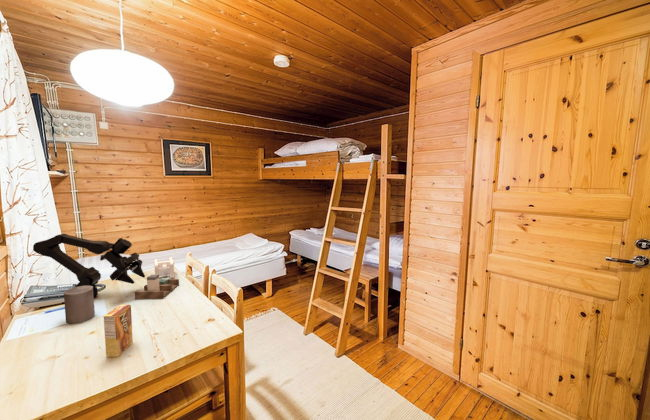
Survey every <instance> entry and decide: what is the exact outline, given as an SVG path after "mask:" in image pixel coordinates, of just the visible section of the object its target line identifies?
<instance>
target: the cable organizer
mask: <svg viewBox="0 0 650 420" xmlns="http://www.w3.org/2000/svg"><path fill="white" fill-rule="evenodd" d="M153 263H154V275H159V279H163V277H164V276H166V277H170V278H169V279H172V278H173V279H175V268H174V266H175V262H174V258H173V257H172V256H171V257H168V260H164V261H159V260H158V259H157V258H156V259H154V261H153Z"/></svg>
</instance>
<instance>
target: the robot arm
mask: <svg viewBox="0 0 650 420" xmlns="http://www.w3.org/2000/svg"><path fill="white" fill-rule="evenodd" d="M61 244H64V245H69V246H74V247H77V248H81V249H84V250H85V249H86V250H87V251H88V252H89V253H92V254H95V255H100V257H99V260H100V261H105V260H106V262H108V263H109V264H110V265H111V266H110V267H111V268H115V269H114V271H113V272H112V273H111V274H110V275H109V278H110V279H111V280H112V281H119V282H124V283H129V284H132V285H133V284H135V281H134V279H133V278H132V277H131V276H130V275H129V274H128V271H131V273H133V274H135V275H138V276H139V277H141V278H145V277H146V275H145V273H144V270H143V269H142V265H143V260H141V259H140V258H139V257H140V254H138V253H137V252H133V253H131V254H130V255H131V256H130V255H129V256H128V257H127V256H123V255H124V254H125V253H126V252H127V251H128V250H129V249H130V248H131V247H132V245H133V244H132V242H131V241H130V240H127V239H124V238H123V237H120V238H118V239H117V240H116V242H114V243H112V242H109V241H106V240H90V239H86V238H82V237H79V236H73V235H69V234H67V233H61V234H57V235H54V236H53V237H51V238H48V239H45V240H40V241H37V242H35V243H34V244H33V245H32V248H33V249H32V250H33V252H35V253H37V254H39V255H41V256H44V257H46V258H47V257H49V258H51V259H53V261H56V263H58V264H59V265H61V266H62V267H64V268H65V269H66V270H69V272H71V273H73V274H74V275H75V276H76V279H77V281H78V283H77V284H76V285H74V287H79V286H93V296H94V299H95V298H96V299H97V298H98V296H99V294H98V293H99V292H98V291H99V290H98V287H97V286H96V285H97V284H98V283H99V281H100V280H101V278H102V274H101V273H100V270H97V269H96V268H95V266H91V267H85V266H84V265H83V264H81V263H80V262H78V261H77V260H76V259H74V258H72V257H71V256H70V255H68V254H67V253H66V252H64V251H63V250H61V247H60V245H61Z"/></svg>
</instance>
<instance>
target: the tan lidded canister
mask: <svg viewBox="0 0 650 420" xmlns="http://www.w3.org/2000/svg"><path fill="white" fill-rule="evenodd" d="M159 279H160V278H159V275H155V274H150V275H148V276H146V281H147V284H146V285H147V287H148V291H160V286H159Z"/></svg>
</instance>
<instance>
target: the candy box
mask: <svg viewBox="0 0 650 420" xmlns="http://www.w3.org/2000/svg"><path fill="white" fill-rule="evenodd" d="M132 319H133V318H132V305H131V304H119V305H118V306H116V307H115V308H113V309H112V310H110V311H109V312H108V313H106V314H104V315H103V329H104V343H105V356H106V358H116V357H117V358H118V357H119V356H120V355H121V354H122V353H123V352H124V351H125V350H126V349H128V347H129V346H130V345H132V343H133V342H134V341H133V322H132V321H133V320H132Z"/></svg>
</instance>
